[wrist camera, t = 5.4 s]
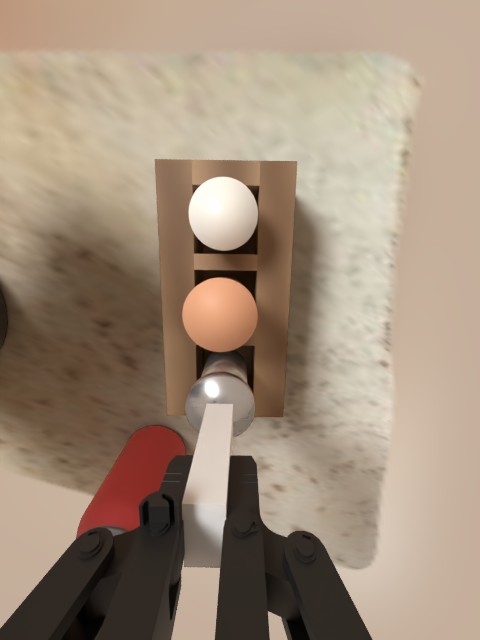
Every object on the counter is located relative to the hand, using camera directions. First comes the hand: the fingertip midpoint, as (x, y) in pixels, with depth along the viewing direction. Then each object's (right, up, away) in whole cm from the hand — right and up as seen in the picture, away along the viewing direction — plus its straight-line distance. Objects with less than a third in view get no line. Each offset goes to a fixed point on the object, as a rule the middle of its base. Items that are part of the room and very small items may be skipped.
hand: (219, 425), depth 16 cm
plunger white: (0, +14, +8) cm, 16 cm away
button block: (0, +9, +12) cm, 15 cm away
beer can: (-8, -9, +16) cm, 20 cm away
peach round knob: (0, +8, +7) cm, 10 cm away
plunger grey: (0, +2, +8) cm, 8 cm away
